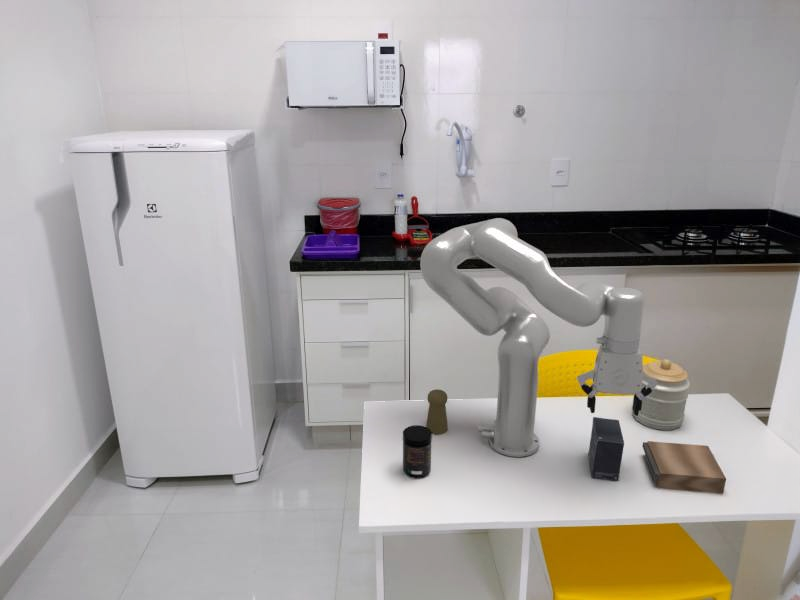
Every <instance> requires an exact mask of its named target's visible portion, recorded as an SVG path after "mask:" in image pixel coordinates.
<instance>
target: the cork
mask: <svg viewBox="0 0 800 600" xmlns="http://www.w3.org/2000/svg"><path fill="white" fill-rule="evenodd" d="M427 402H428V410H427V417H426V423H425V427H427V428H429V429H430V430H431V432H432V435H433V434H434V435H433V436H442V435H444V433H445V434H446V433H448V431H449V426H448V425H449V424H448V417H447V407H446V404H447V403H448V394H447V393H446V391H444V390H442V389H432V390H430V391H429V392H428V394H427ZM441 434H442V435H441Z"/></svg>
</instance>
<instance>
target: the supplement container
mask: <svg viewBox="0 0 800 600" xmlns="http://www.w3.org/2000/svg"><path fill="white" fill-rule="evenodd" d="M432 436H433V434H432V432H431V430H430V429H429V428H427V427H426V425H425V426H424V425H418V424H417V425H410V426H408V427H405V428H404V430H403V431H402V470H403V472H404V474H405V475H406V476H407V477H409V478H413V479H423V478H425V477H427V476H428V475H429V474H430V472H431V470H432V441H433V439H432Z"/></svg>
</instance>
